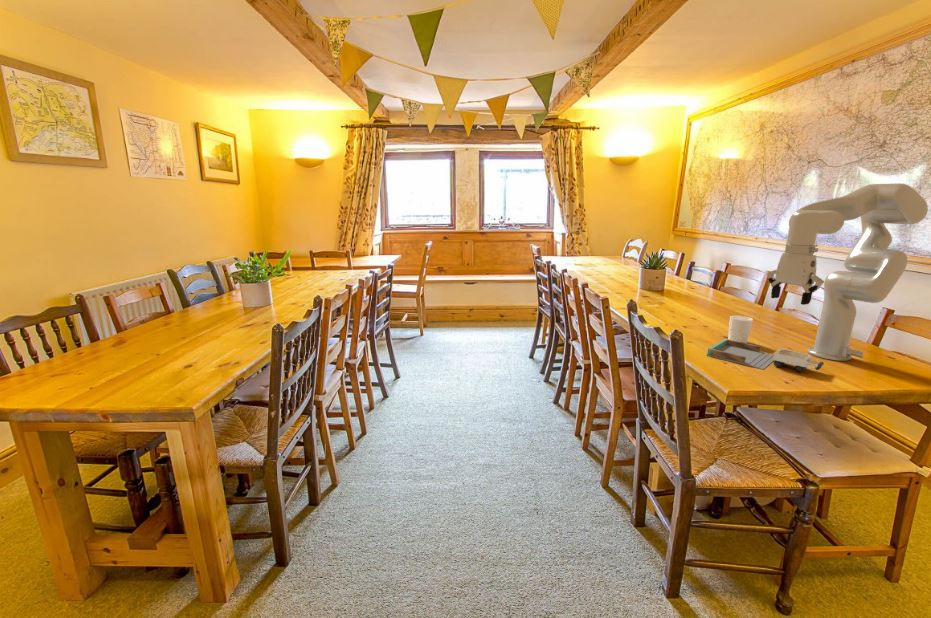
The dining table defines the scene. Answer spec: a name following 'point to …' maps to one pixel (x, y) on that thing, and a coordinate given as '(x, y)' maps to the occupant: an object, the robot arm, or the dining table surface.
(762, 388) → the dining table surface
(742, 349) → the dock
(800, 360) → the trolley
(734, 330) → the white cup
